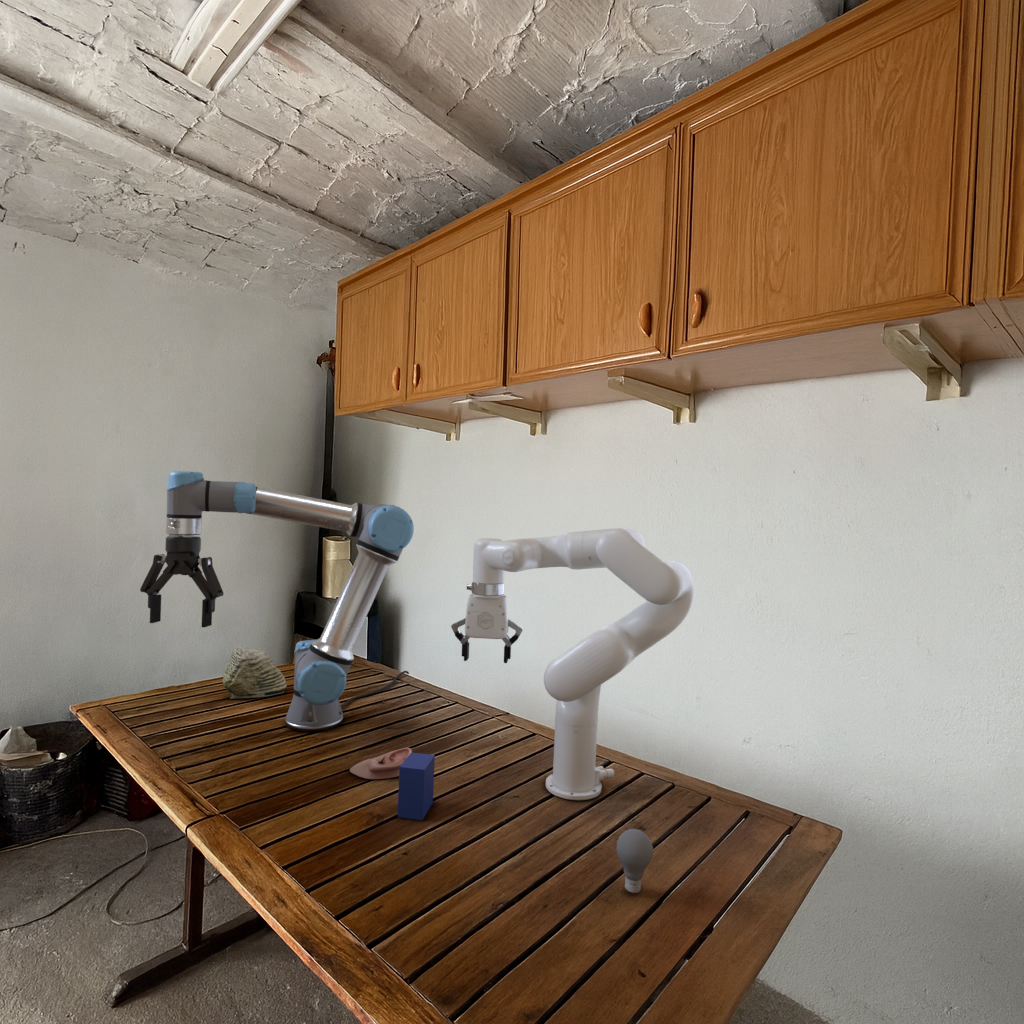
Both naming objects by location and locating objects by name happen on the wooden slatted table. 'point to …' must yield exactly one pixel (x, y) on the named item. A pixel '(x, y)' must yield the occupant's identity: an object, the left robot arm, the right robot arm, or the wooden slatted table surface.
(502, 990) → the wooden slatted table surface
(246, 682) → the fossil
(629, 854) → the light bulb
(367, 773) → the anatomical model
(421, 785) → the brick
